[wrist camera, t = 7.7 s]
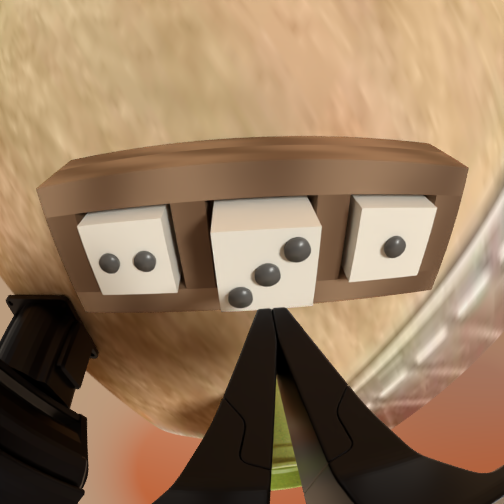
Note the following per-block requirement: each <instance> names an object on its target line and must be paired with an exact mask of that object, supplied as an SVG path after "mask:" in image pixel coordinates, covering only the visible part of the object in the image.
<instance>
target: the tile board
mask: <svg viewBox="0 0 504 504" xmlns="http://www.w3.org/2000/svg"><path fill="white" fill-rule="evenodd" d="M468 169H469V168H468V167H467V166H465V165H463V164H462V163H460V162H459V161H457V160H456V159H454V158H452V157H451V156H449V155H447V154H446V153H444V152H443V151H441V150H439V149H437V148H436V147H434V146H432V145H431V144H427V143H419V142H409V141H398V140H386V139H372V138H354V137H322V136H284V137H251V138H232V139H218V140H205V141H194V142H184V143H175V144H166V145H158V146H151V147H143V148H137V149H130V150H124V151H117V152H112V153H106V154H100V155H95V156H90V157H85V158H80V159H75V160H71V161H70V162H68V163H67V164H66V165H65V166H63V167H62V168H61V169H59V170H58V171H57V172H56V173H54V174H53V175H52V176H51V177H50V178H48V179H47V180H46V181H45V182H44V183H42V184H41V185H40V186H39V187H38V188H36V190H37V193H38V197H39V200H40V203H41V206H42V209H43V212H44V215H45V218H46V221H47V223H48V226H49V229H50V232H51V234H52V237H53V240H54V242H55V245H56V247H57V250H58V252H59V255H60V257H61V260H62V262H63V264H64V267H65V269H66V271H67V274H68V276H69V278H70V280H71V283H72V285H73V287H74V289H75V291H76V293H77V295H78V297H79V300H80V302H81V304H82V306H83V308H84V310H85V312H95V313H132V312H181V311H208V310H221V308H220V301H219V294H218V287H217V279H216V272H215V265H214V257H213V249H212V241H211V233H210V232H211V223H212V215H213V206H214V200H228V199H244V198H263V197H286V196H307V197H308V199H309V201H310V203H311V205H312V207H313V209H314V211H315V213H316V216H317V218H318V220H319V222H320V224H321V226H322V230H321V240H320V250H319V259H318V267H317V276H316V284H315V292H314V299H313V303H324V302H334V301H344V300H354V299H363V298H371V297H380V296H388V295H396V294H404V293H411V292H418V291H425V290H431V289H432V287H433V284H434V281H435V279H436V276H437V274H438V271H439V268H440V266H441V263H442V260H443V257H444V254H445V252H446V249H447V246H448V243H449V240H450V236H451V233H452V230H453V227H454V223H455V220H456V217H457V213H458V210H459V206H460V202H461V198H462V194H463V190H464V186H465V182H466V178H467V173H468ZM351 194H409V195H424V196H425V197H426V198H427V199H428V200H429V201H430V202H432V203H433V204H434V205H435V206H436V207H437V210H436V214H435V218H434V222H433V225H432V229H431V233H430V236H429V239H428V243H427V246H426V249H425V253H424V256H423V259H422V262H421V265H420V268H419V271H418V274H417V275H416V276H407V277H398V278H388V279H378V280H368V281H358V282H349V281H348V279H347V277H346V275H345V272H344V270H343V268H342V266H341V259H342V253H343V247H344V240H345V233H346V226H347V219H348V211H349V204H350V195H351ZM169 203H170V207H171V212H172V218H173V223H174V229H175V234H176V239H177V244H178V249H179V254H180V259H181V264H182V272H181V277H180V282H179V288H178V293H160V294H126V295H103V294H102V292H101V289H100V287H99V284H98V282H97V280H96V277H95V275H94V272H93V270H92V267H91V264H90V262H89V259H88V257H87V254H86V251H85V248H84V246H83V243H82V240H81V237H80V234H79V231H78V228H77V226H78V224H79V223H80V222H81V221H82V219H83V218H84V217H85V215H86V214H87V213H88V212H94V211H102V210H110V209H119V208H128V207H138V206H148V205H158V204H169Z"/></svg>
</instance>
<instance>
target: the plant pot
mask: <svg viewBox="0 0 504 504" xmlns="http://www.w3.org/2000/svg"><path fill="white" fill-rule="evenodd" d="M301 486H302V484H301V480H300V476H299V471H298V467H297V463H296V459H295V455H294V450H293V446H292V442H291V438H290V433H289V429H288V425H287V421H286V417H285V412H284V408H283V404H282V400H281V395H280V391H279V387H278V382H277V378H276V397H275V420H274V440H273V458H272V475H271V490H281V489H289V488H295V487H301Z"/></svg>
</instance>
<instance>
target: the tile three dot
mask: <svg viewBox="0 0 504 504" xmlns="http://www.w3.org/2000/svg"><path fill="white" fill-rule="evenodd" d="M321 230H322V226H321V224H320V222H319V220H318V218H317V216H316V213H315V211H314V209H313V207H312V205H311V203H310V201H309V199H308V197H307V196H286V197H263V198H244V199H228V200H214V206H213V215H212V223H211V232H210V233H211V241H212V249H213V257H214V265H215V272H216V279H217V287H218V294H219V301H220V308H221V312H232V311H249V310H258V309H264V308H270V309H273V308H278V307H285V308H291V307H303V306H313V299H314V292H315V284H316V276H317V267H318V259H319V250H320V240H321Z"/></svg>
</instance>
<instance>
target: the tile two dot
mask: <svg viewBox="0 0 504 504" xmlns="http://www.w3.org/2000/svg"><path fill="white" fill-rule="evenodd" d="M77 228H78V231H79V234H80V237H81V240H82V243H83V246H84V248H85V251H86V254H87V257H88V259H89V262H90V264H91V267H92V270H93V272H94V275H95V277H96V280H97V282H98V284H99V287H100V289H101V292H102V294H103V295H126V294H160V293H178V288H179V282H180V277H181V272H182V264H181V259H180V254H179V249H178V244H177V239H176V234H175V229H174V223H173V218H172V212H171V207H170V203H169V204H158V205H148V206H138V207H128V208H119V209H110V210H102V211H94V212H88V213H87V214H86V215H85V217H84V218H83V219H82V221H81V222H80V223H79V224H78V226H77Z"/></svg>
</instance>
